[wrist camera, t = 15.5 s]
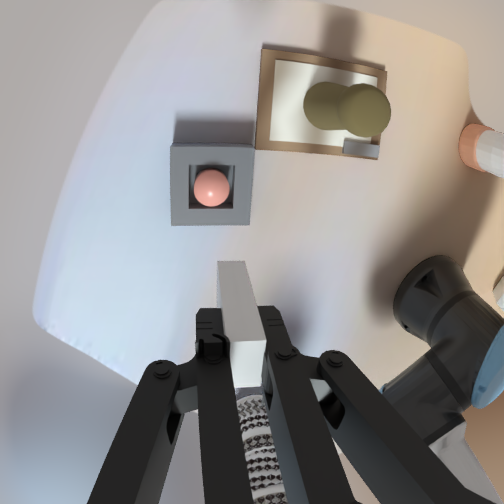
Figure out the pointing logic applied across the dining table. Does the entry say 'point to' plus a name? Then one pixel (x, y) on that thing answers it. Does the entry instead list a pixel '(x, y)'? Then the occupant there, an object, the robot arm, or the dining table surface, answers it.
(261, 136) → the clipboard
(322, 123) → the pepper shaker
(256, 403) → the decorative candle
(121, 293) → the dining table surface
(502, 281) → the figurine
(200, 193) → the button
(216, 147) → the button housing
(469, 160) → the pepper shaker
